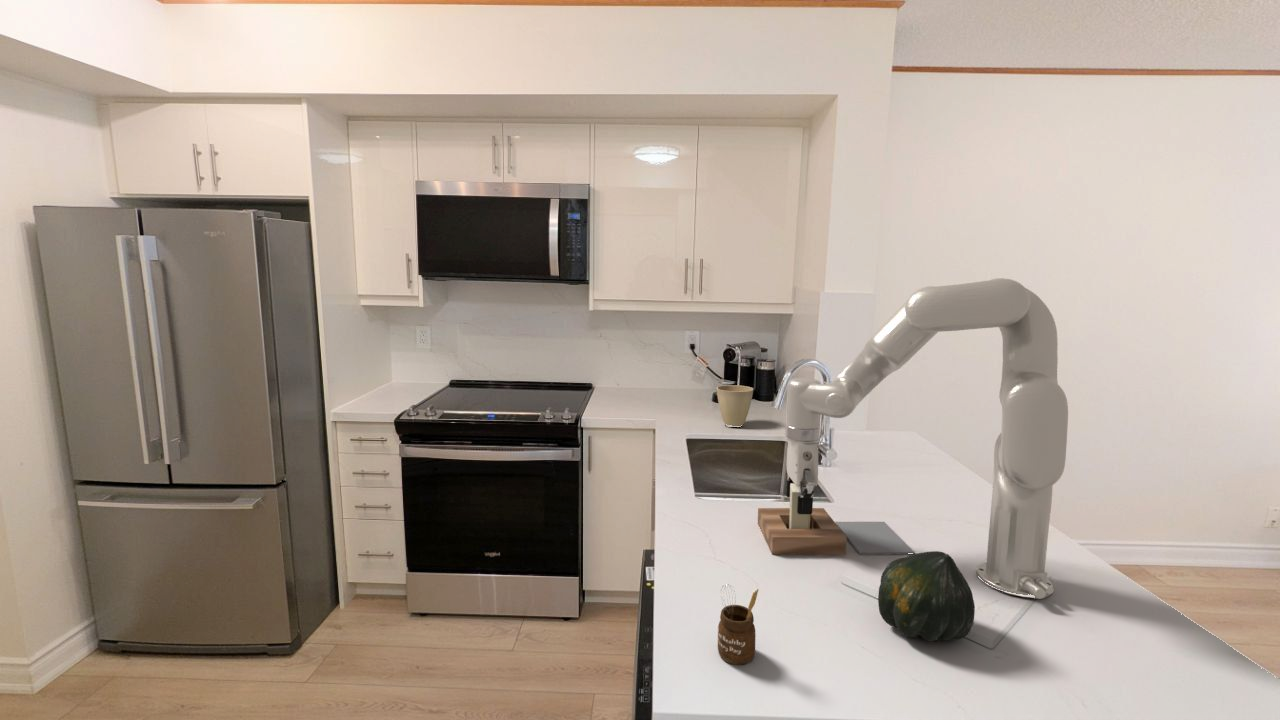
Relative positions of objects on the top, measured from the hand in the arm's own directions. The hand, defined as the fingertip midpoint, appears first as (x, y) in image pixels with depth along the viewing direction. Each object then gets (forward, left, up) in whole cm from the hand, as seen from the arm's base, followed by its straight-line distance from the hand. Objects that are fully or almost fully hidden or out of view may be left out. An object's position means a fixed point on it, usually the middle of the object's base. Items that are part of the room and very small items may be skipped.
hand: (798, 505), depth 131 cm
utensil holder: (-42, +21, -8) cm, 47 cm away
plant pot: (+103, -1, -8) cm, 104 cm away
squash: (-35, -12, -8) cm, 38 cm away
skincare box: (0, 0, -8) cm, 8 cm away
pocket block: (0, 0, -8) cm, 8 cm away
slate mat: (0, -17, -8) cm, 19 cm away
